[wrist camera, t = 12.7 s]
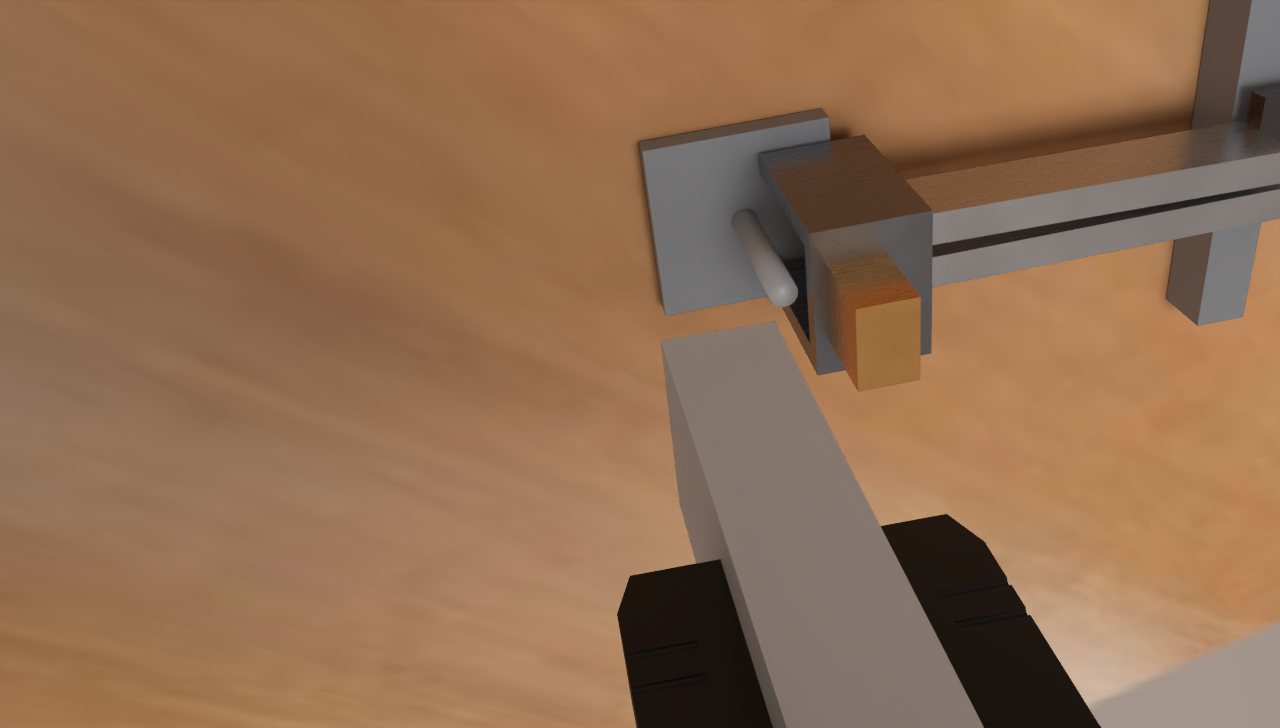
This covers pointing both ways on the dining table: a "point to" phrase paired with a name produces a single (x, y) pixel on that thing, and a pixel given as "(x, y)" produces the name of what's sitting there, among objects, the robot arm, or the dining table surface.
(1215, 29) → the stand
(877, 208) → the collar
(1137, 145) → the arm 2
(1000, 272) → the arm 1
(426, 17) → the dining table surface
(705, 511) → the robot arm
